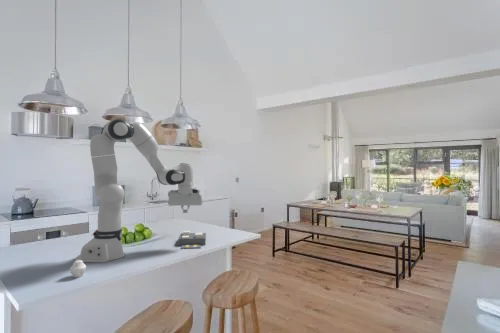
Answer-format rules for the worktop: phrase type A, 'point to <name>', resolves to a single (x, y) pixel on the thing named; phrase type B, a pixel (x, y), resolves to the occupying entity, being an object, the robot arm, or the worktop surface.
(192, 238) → the button board
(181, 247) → the pattern card
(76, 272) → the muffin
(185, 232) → the button back left
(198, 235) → the button front right
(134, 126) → the robot arm
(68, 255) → the worktop surface
